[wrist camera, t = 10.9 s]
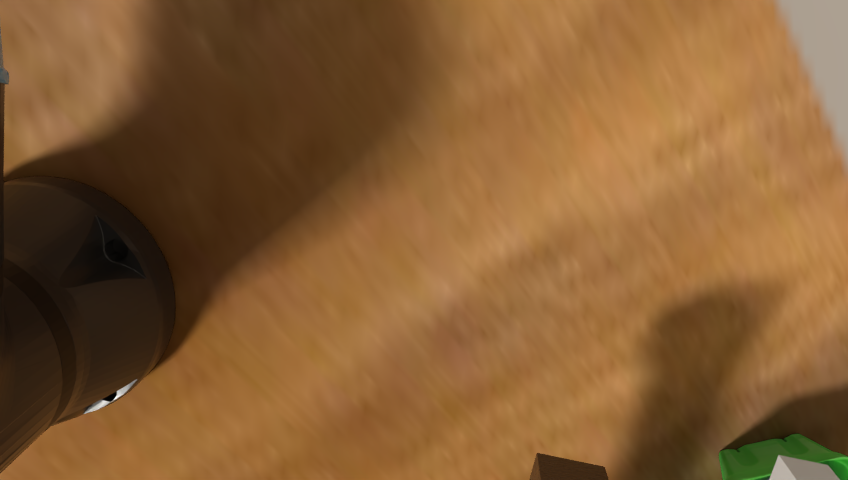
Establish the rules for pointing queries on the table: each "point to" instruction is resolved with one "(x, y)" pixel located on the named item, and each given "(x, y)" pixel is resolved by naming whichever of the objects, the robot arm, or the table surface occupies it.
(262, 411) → the table surface
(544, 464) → the shaft
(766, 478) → the fruit basket
